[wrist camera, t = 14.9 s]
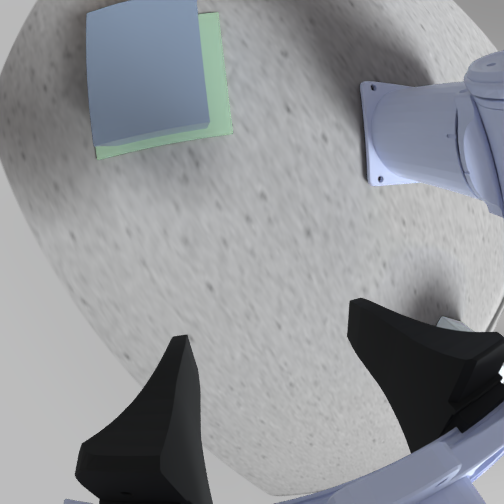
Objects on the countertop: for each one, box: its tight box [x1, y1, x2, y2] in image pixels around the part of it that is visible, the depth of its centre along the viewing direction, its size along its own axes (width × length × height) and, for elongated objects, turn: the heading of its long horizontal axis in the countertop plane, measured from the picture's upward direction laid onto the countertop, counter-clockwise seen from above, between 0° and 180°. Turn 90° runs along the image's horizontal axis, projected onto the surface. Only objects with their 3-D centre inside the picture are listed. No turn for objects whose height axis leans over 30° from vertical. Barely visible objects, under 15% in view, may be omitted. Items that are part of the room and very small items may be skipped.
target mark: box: [95, 12, 233, 160], centre depth 16 cm, size 9×9×1 cm
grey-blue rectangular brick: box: [86, 0, 210, 146], centre depth 13 cm, size 6×8×5 cm
